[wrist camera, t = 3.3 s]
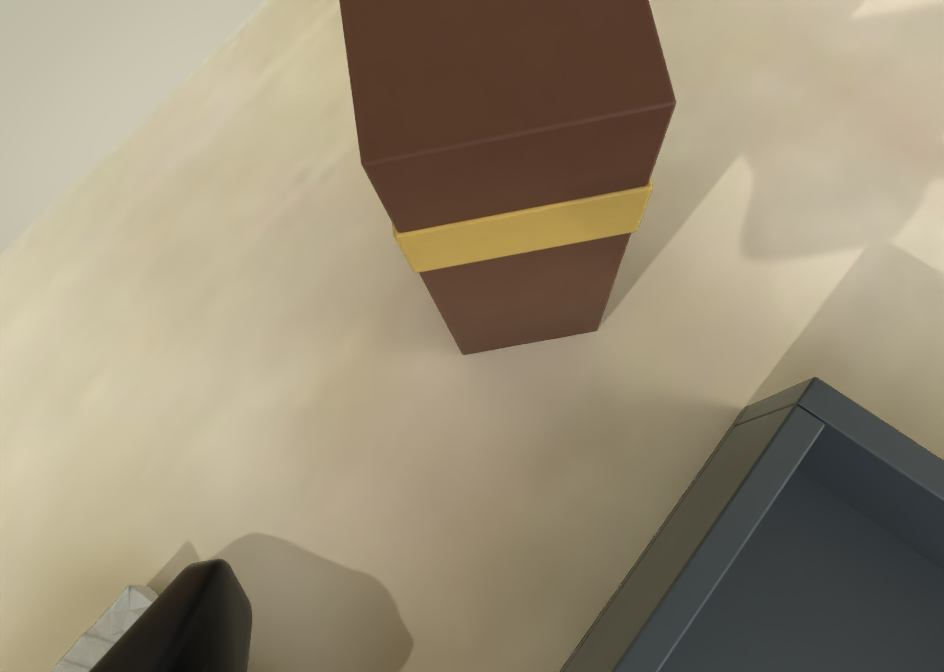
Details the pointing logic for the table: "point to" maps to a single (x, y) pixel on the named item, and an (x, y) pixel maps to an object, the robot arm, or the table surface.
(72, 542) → the table surface
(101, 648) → the packaged product
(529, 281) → the chocolate box
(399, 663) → the table surface
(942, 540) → the open storage bin
